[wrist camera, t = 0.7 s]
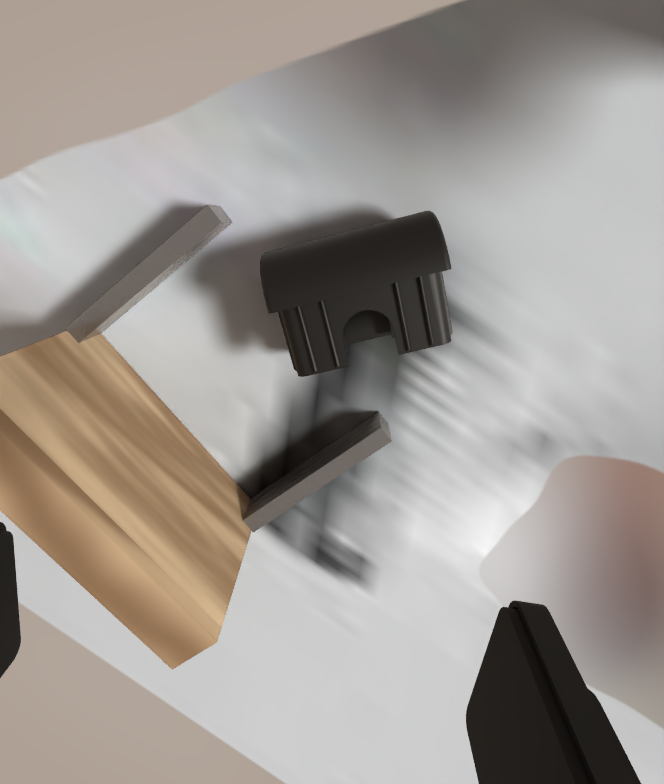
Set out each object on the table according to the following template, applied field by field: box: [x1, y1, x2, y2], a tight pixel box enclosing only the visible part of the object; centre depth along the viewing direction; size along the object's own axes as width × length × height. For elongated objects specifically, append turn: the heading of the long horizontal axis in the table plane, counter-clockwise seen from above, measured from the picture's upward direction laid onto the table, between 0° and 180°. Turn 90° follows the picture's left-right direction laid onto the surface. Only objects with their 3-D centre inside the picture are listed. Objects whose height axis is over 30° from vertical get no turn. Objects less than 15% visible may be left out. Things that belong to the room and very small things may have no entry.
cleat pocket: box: [65, 205, 392, 532], centre depth 33 cm, size 12×18×3 cm, turn 37°
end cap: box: [260, 211, 452, 377], centre depth 30 cm, size 10×7×7 cm
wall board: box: [0, 331, 251, 669], centre depth 30 cm, size 3×18×13 cm, turn 37°
